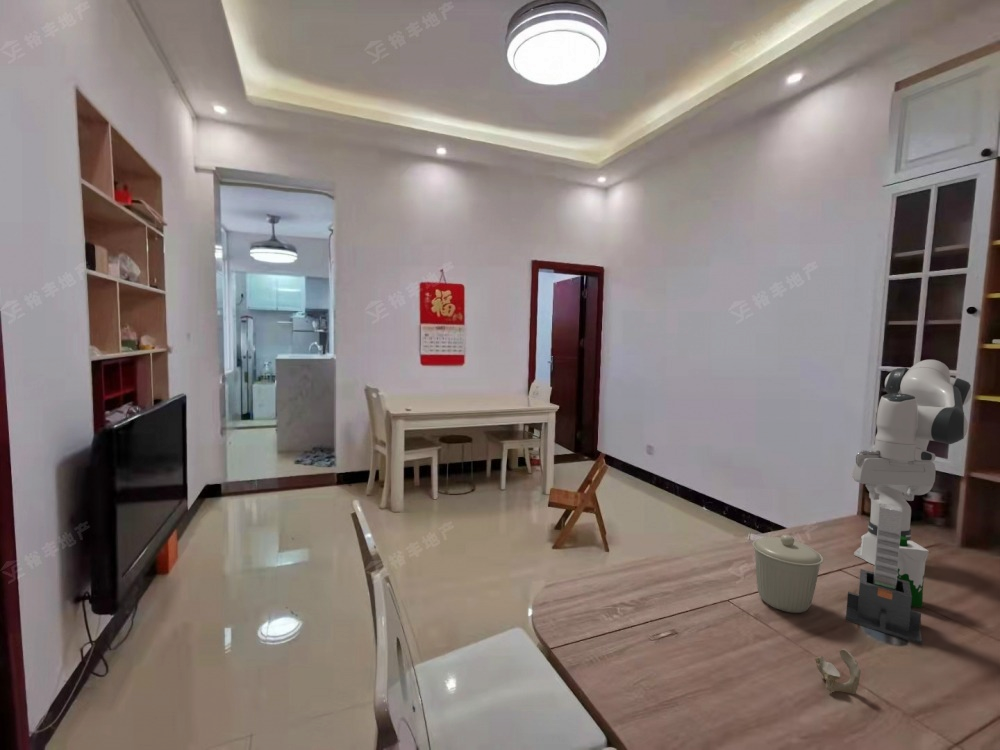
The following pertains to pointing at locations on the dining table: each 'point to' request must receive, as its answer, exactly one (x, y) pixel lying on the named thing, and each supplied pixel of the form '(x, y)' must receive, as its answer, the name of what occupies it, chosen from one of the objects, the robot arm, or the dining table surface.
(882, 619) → the stand
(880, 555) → the column
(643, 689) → the dining table surface
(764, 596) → the canister
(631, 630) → the dining table surface
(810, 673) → the dining table surface
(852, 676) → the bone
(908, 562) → the milk carton
